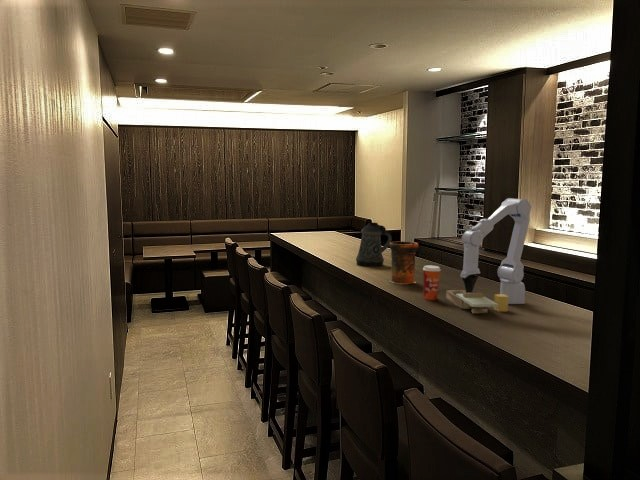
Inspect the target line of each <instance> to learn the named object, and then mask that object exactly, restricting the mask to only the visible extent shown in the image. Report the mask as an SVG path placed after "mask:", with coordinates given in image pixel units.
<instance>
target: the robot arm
mask: <svg viewBox="0 0 640 480" xmlns="http://www.w3.org/2000/svg"><path fill="white" fill-rule="evenodd" d="M531 209H532V204H530V202H529V200H528V199H526V198H511V197H508V198H506V199H505V200H504V201H502V202H501V205H500V206H499V207H498V208H497V209H496V210H495V211H494V212H493V213H491V215H490V216H489V217H488V218H482V219H480V220H479V221H478V223H477V224H476V225H474V226H473V227H471V229H470V230H466V231H464V233H463V235H462V236H461V241H462V243H463V263H462V264H463V266H462V270H461V272H460V278H461V280H462V281H463V284H464V288H465V291H466V293H474V292H473V291H474V289H475V285H476V282H477V280H478V279H479V274H481V271H480V268H479V251H480V245H482V243H483V241H484V238H485V237H487V235H488V234H489V233H490V232H492V231H493V230H494V226H495V224H497V223H498V222H500V221H501V220H503V219H504V218H505V217H506V216H508V215H509V216H510V217H511V218H512V219H513V221H514V225H513V229H512V234H511V238H510V240H509V241H510V243H509V246H508V250H507V255H506V258H504V259H503V260H501V264H500V266H499V267H498V268H497V272H496V273H497V276H498V278H499V281H500V286H499V287H500V289H499V290H500V291H499V294H504V295H506V296H508V305H525V304H526V302H525V296H526V295H525V294H526V287H525V283H524V282H522V280H523V279H524V276H525V275H524V274H525V273H524V267H525V266H524V264H523V263H522V261H521V258H522V254H523V251H524V246H525V241H526V239H527V238H526V237H527V233H528V229H529V225H530V221H531V216H530V214H531ZM477 274H478V275H477Z"/></svg>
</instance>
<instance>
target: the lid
mask: <svg viewBox="0 0 640 480" xmlns="http://www.w3.org/2000/svg"><path fill="white" fill-rule="evenodd" d="M456 297H458V298H460V299H461V300H463V301H464V302H466V303H467V304H469V305H471V306H472V307H485V308H488V307H489V308H491V307H493V308H494V307H498V304H497V303H495V302H494V300H492V299H489V297H486V296H485V295H484V293H483V292H472V293H463V294H456Z"/></svg>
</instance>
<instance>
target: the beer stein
mask: <svg viewBox="0 0 640 480" xmlns="http://www.w3.org/2000/svg"><path fill="white" fill-rule="evenodd" d="M360 231H361V237H360V238H361V240H360V244H359V249H358V253H357V256H356V257H355V258H356V259H355V261H356V265H357V266H359V267H360V266H361V267H367V268H369V267H370V268H378V267H382V266H384V260H385V258H384V256H383V252H384V251H386V250H387V249H388V248H389V247H390V245H389V244H390V243H391V242H392V235H391V233H392V232H390V231H388V230H387V229H386V227H385V226H384V225H380V224H378V222H368V224H366V225H365V226H364V227H363V228H362V229H361V230H360ZM381 236H386V237H387V240H386V242H385V244H384V245H383V246H382V238H381Z"/></svg>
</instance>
